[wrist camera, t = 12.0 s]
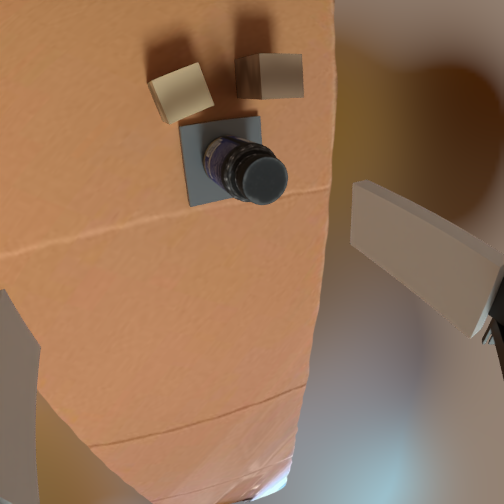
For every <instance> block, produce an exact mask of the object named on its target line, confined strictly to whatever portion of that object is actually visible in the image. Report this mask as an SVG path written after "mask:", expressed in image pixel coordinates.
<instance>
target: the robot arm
mask: <svg viewBox="0 0 504 504" xmlns="http://www.w3.org/2000/svg"><path fill="white" fill-rule="evenodd" d="M352 194H353V195H352V217H351V235H350V244H351V245H352V246H353V247H355V248H356V249H357V250H359V251H360V252H361V253H363V254H364V255H365V256H367V257H368V258H370V259H371V260H372V261H373V262H375V263H376V264H377V265H379V266H380V267H381V268H383V269H384V270H385V271H387V272H388V273H389V274H391V275H392V276H393V277H394V278H396V279H397V280H398V281H400V282H401V283H402V284H403V285H405V286H406V287H407V288H409V289H410V290H411V291H412V292H413V293H415V294H416V295H417V296H418V297H420V298H421V299H422V300H424V301H425V302H426V303H427V304H428V305H430V306H431V307H432V308H433V309H435V310H436V311H437V312H438V313H439V314H441V315H442V316H443V317H444V318H445V319H447V320H448V321H449V322H450V323H451V324H453V325H454V326H455V327H456V328H457V329H458V330H460V331H461V332H462V333H463V334H464V335H466V336H467V337H468V338H469V339H471V338H472V337H473V336H474V335H475V334H476V333H477V332H478V331H479V330H480V329H481V328H482V326H483V324H484V322H485V320H486V318H487V316H488V314H489V315H490V316H491V317H492V320H491V322H490V324H489V326H488V328H487V330H486V332H485V334H484V336H483V338H482V344H485V343H486V341H487V339H488V337H489V335H490V334H492V336H491V338H490V340H489V343H488V344H495V346H496V350H497V353H498V357H499V361H500V366H501V370H502V374H503V379H504V254H503V253H501V252H499V251H498V250H496V249H495V248H493V247H492V246H490V245H488V244H487V243H485V242H483V241H482V240H480V239H479V238H477V237H475V236H474V235H472V234H470V233H468V232H467V231H465V230H463V229H461V228H460V227H458V226H456V225H455V224H453V223H451V222H449V221H448V220H446V219H444V218H442V217H440V216H438V215H437V214H435V213H433V212H431V211H429V210H427V209H425V208H423V207H422V206H420V205H418V204H416V203H414V202H412V201H410V200H408V199H406V198H404V197H402V196H400V195H398V194H396V193H394V192H392V191H390V190H388V189H386V188H384V187H382V186H379V185H377V184H375V183H373V182H371V181H368V180H364V181H360V182H356V183H353V192H352ZM40 349H41V346H40V345H39V344H38V342H37V341H36V339H35V338H34V336H33V335H32V333H31V332H30V330H29V329H28V327H27V326H26V324H25V322H24V321H23V319H22V318H21V316H20V314H19V313H18V311H17V310H16V308H15V306H14V304H13V303H12V301H11V299H10V298H9V296H8V294H7V292H6V291H5V289H3V290H0V504H40V500H39V491H38V482H37V467H36V443H35V419H36V393H37V379H38V368H39V358H40Z"/></svg>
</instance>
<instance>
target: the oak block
mask: <svg viewBox="0 0 504 504" xmlns="http://www.w3.org/2000/svg"><path fill="white" fill-rule="evenodd" d="M147 85H148V87H149V90H150V92H151V95H152V97H153V99H154V102H155V104H156V107H157V109H158V111H159V114H160V116H161V119H162V121H163V122H165V123H167V124H172V123H174V122H176V121H179V120H181V119H183V118H185V117H188V116H190V115H192V114H195V113H197V112H199V111H202V110H204V109H207V108H209V107H211V106H214V103H213V100H212V97H211V95H210V92H209V89H208V87H207V84H206V81H205V79H204V76H203V73H202V71H201V68H200V65H199V63H195V64H192V65H189V66H187V67H184V68H181V69H179V70H176V71H174V72H171V73H169V74H166V75H164V76H162V77H159V78H157V79H154V80H152V81H150V82H149V83H147Z"/></svg>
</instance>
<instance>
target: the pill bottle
mask: <svg viewBox="0 0 504 504" xmlns="http://www.w3.org/2000/svg"><path fill="white" fill-rule="evenodd" d="M203 168H204V171H205V173H206V175H207V176H208V177H209V178H210V179H211V180H212V181H214V182H215V183H216V184H217V185H219V186H220V187H221V188H222V189H224V190H225V191H226V192H227V193H229V194H230V195H231V196H232V197H234V198H235V199H238V200H240V201H243V202H252V203H255V204H258V205H266V204H270V203H272V202H274V201H276V200H277V199H278V198H279V197H280V196H281V195H282V194H283V192H284V191H285V188H286V186H287V181H288V174H287V170H286V168H285V166H284V164H283V163H282V162H281V161H280V160H279V159H277V158H276V156H275V155H274V153H273V152H272V151H271V150H270V149H269V148H267V147H266V146H263V145H261V144H258V143H255V142H252V141H249V140H246V139H243V138H240V137H237V136H233V135H226V136H220V137H218V138H216V139H214V140H213V141H212V142H211V143H210V144H209V145H208V146H207V148H206V150H205V151H204V154H203Z"/></svg>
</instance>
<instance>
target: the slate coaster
mask: <svg viewBox="0 0 504 504" xmlns="http://www.w3.org/2000/svg"><path fill="white" fill-rule="evenodd" d="M179 134H180V142H181V150H182V158H183V165H184V173H185V180H186V187H187V194H188V201H189V205H190V207H193V206H197V205H202V204H206V203H210V202H215V201H219V200H224V199H228V198H233V197H232V196H231V195H230V194H229V193H227V192H226V191H225V190H224V189H222V188H221V187H220V186H219V185H217V184H216V183H215V182H214V181H212V180H211V179H210V178H209V177H208V176H207V175H206V173H205V171H204V168H203V154H204V151H205V150H206V148H207V146H208V145H209V144H210V143H211V142H212V141H213V140H214V139H216V138H218V137H220V136H226V135H233V136H237V137H240V138H243V139H246V140H249V141H252V142H255V143H258V144H261V145H262V138H261V120H260V116H250V117H241V118H232V119H224V120H217V121H210V122H203V123H196V124H190V125H184V126H179Z"/></svg>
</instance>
